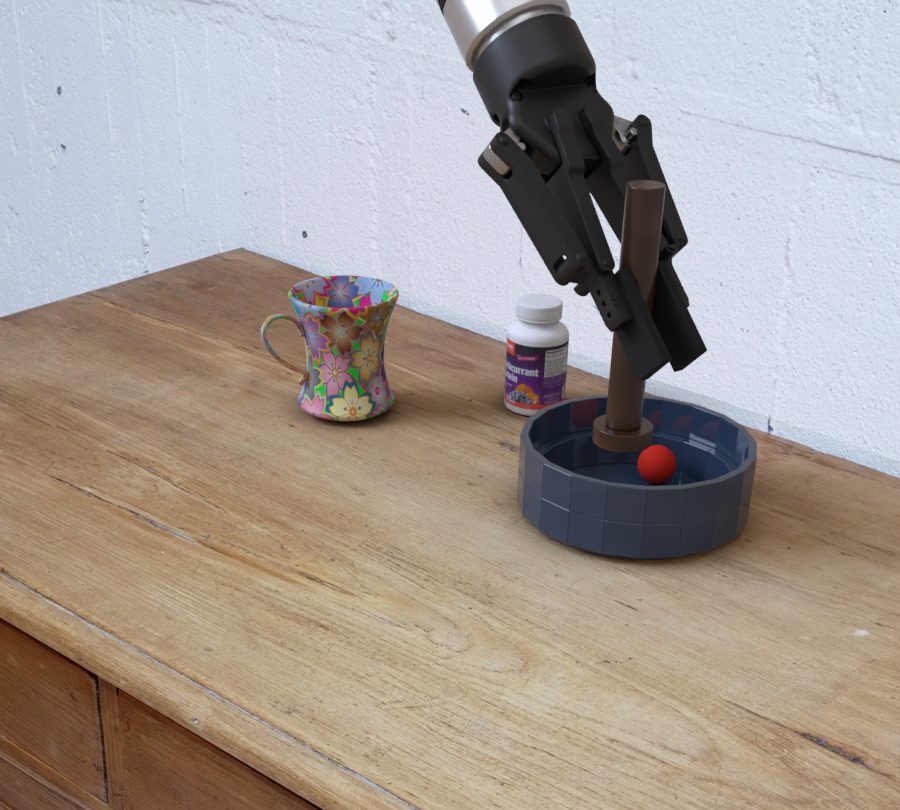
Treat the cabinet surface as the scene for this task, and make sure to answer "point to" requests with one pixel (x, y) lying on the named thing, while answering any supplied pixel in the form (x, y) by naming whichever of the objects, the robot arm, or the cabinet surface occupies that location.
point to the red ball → (656, 464)
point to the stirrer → (640, 255)
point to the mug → (341, 345)
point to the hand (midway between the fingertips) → (672, 365)
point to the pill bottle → (536, 355)
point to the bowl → (636, 481)
